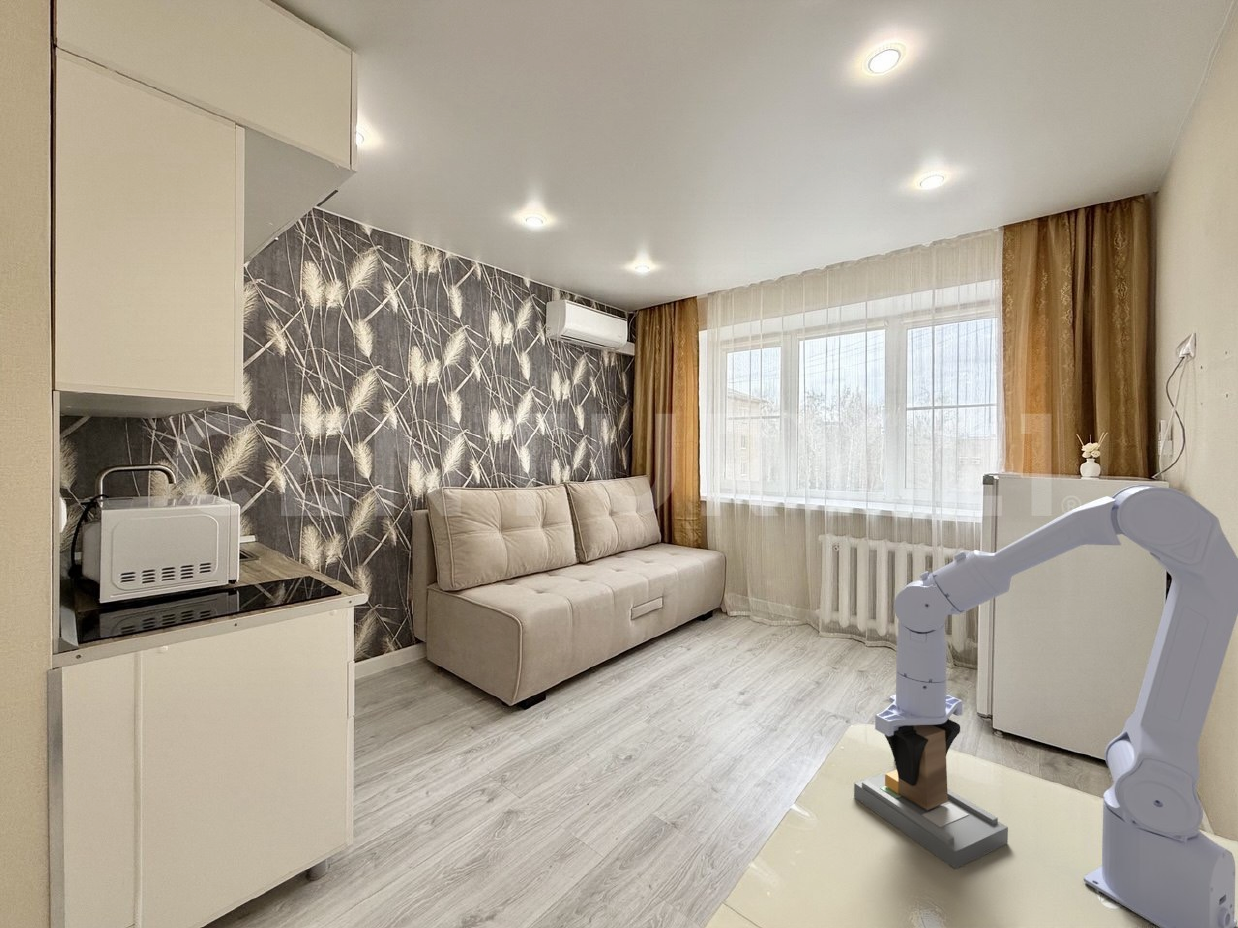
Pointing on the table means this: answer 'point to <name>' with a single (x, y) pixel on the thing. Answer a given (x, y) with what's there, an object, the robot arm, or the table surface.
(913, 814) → the grey railed tray
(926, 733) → the tan wooden post
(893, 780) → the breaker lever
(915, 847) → the table surface
